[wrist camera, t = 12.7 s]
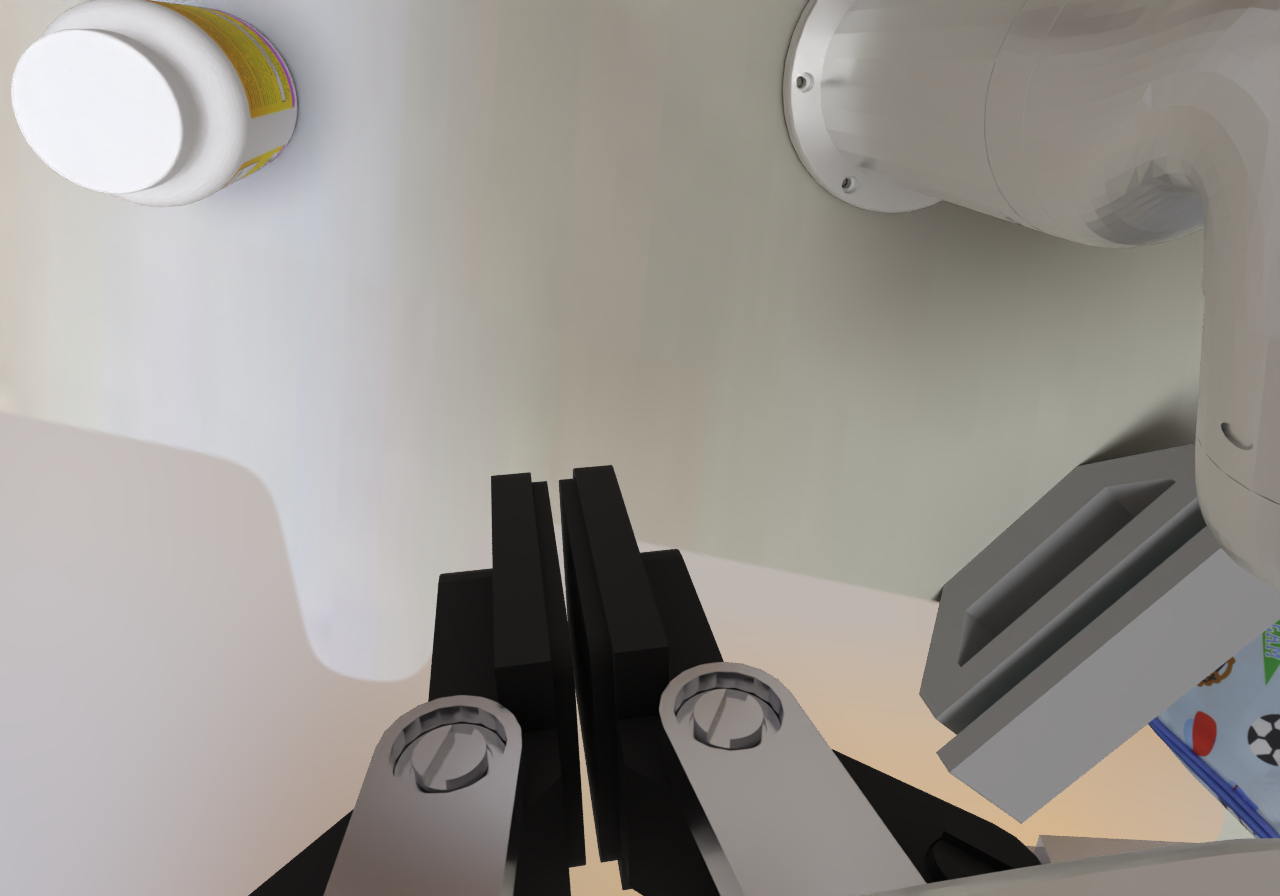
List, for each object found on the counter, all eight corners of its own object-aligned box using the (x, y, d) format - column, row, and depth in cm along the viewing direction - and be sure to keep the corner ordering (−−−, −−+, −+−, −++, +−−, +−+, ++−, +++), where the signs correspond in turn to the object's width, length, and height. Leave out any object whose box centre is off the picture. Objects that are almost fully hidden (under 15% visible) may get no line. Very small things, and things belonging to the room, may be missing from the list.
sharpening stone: (935, 700, 60) (1021, 823, 51) (870, 650, 57) (949, 772, 47) (1215, 459, 55) (1371, 546, 45) (1161, 390, 52) (1316, 468, 42)
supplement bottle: (158, -24, 34) (-6, -62, 23) (320, 56, 36) (245, 57, 25) (119, 132, 36) (-48, 168, 25) (274, 198, 38) (186, 259, 27)
